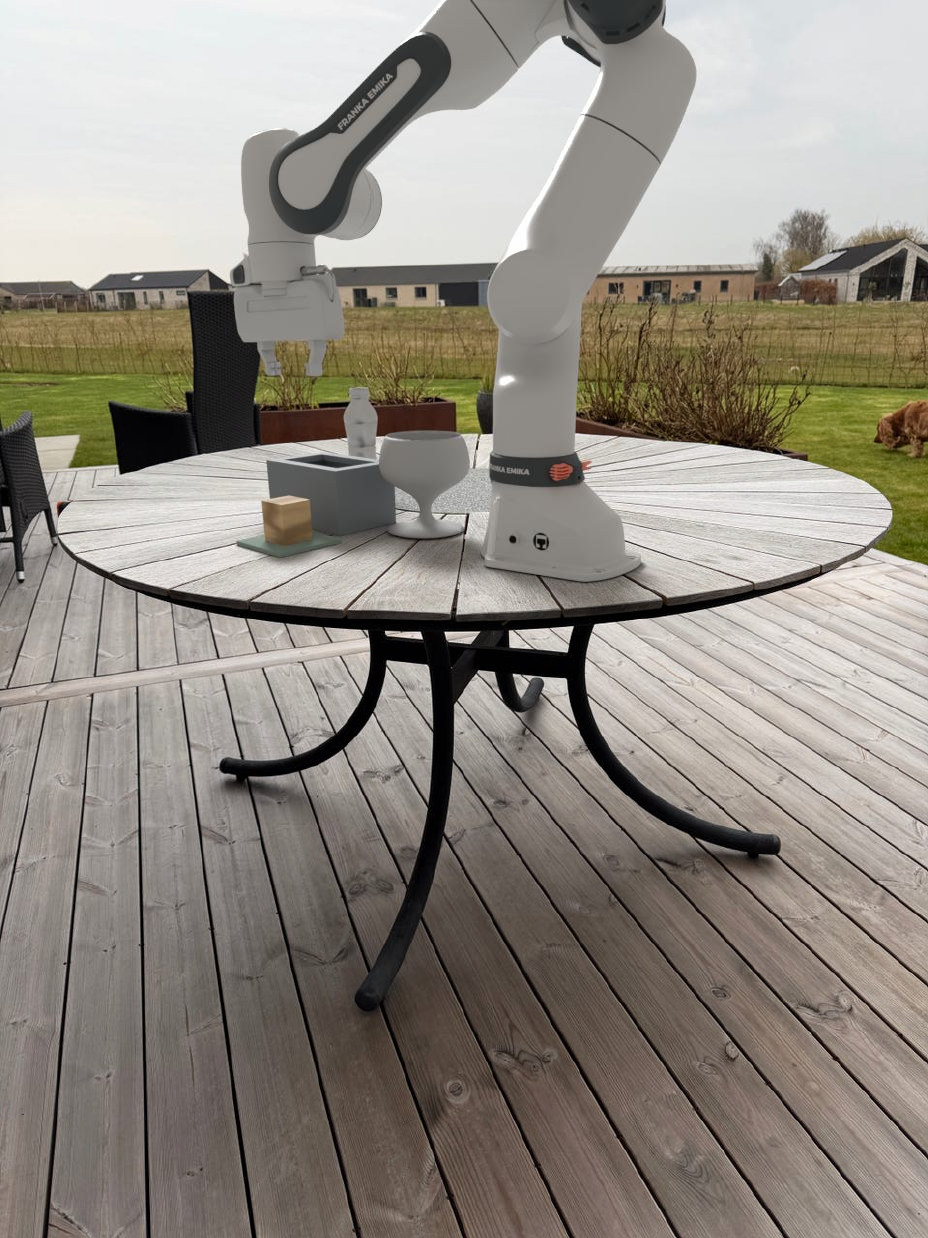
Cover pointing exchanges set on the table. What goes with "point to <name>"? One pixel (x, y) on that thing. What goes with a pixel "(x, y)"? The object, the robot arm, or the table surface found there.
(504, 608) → the table surface
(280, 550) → the green mat
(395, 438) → the chalice
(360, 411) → the plastic bottle
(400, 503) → the table surface
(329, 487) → the box
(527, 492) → the robot arm
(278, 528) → the honey block
